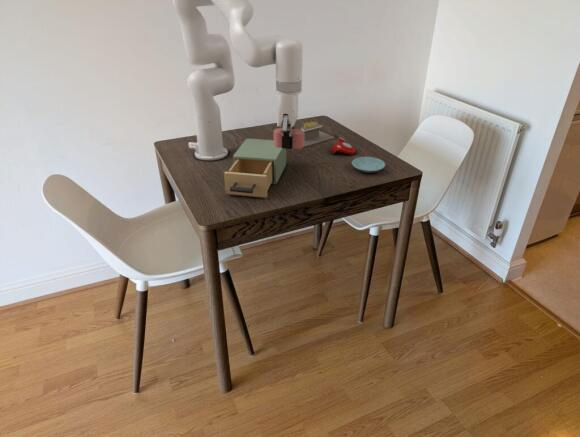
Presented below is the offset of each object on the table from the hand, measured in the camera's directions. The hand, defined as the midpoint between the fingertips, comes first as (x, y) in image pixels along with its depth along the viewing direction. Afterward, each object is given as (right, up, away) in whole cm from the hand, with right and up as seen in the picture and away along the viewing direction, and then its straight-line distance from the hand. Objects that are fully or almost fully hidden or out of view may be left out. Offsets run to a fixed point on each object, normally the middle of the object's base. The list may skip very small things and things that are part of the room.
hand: (288, 144), depth 133 cm
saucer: (+29, -6, +20) cm, 35 cm away
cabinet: (-10, -7, +18) cm, 21 cm away
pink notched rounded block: (0, 0, 0) cm, 0 cm away
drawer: (-12, -13, +5) cm, 19 cm away
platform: (+9, +11, +47) cm, 49 cm away
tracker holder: (+22, +4, +35) cm, 41 cm away
